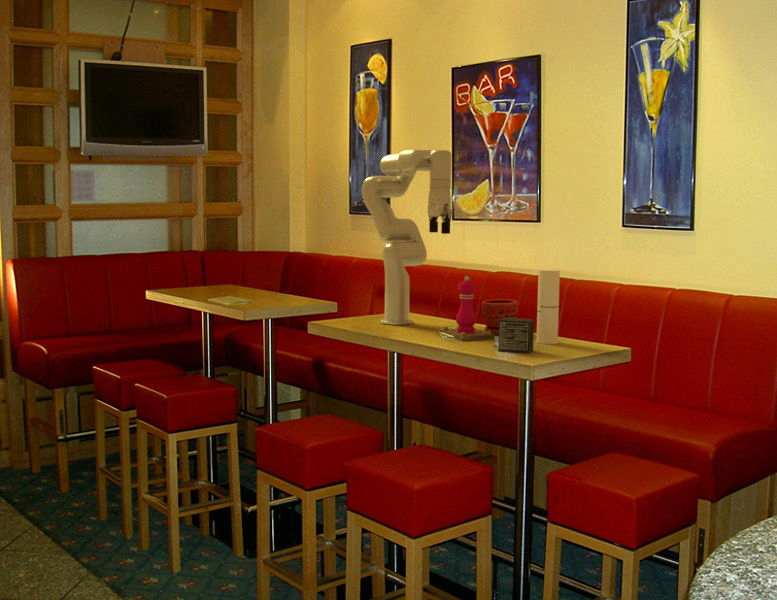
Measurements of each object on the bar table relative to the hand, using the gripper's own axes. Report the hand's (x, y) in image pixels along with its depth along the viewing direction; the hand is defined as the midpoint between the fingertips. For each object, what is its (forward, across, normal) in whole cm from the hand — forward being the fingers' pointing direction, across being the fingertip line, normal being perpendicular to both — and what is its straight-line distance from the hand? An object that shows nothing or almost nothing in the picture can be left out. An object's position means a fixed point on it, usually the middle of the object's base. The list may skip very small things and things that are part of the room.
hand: (439, 233), depth 337 cm
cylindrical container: (+36, +32, +26) cm, 55 cm away
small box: (+37, +43, +7) cm, 57 cm away
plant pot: (+37, +8, +21) cm, 43 cm away
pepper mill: (+35, +10, +6) cm, 37 cm away
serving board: (+36, +11, +6) cm, 38 cm away
